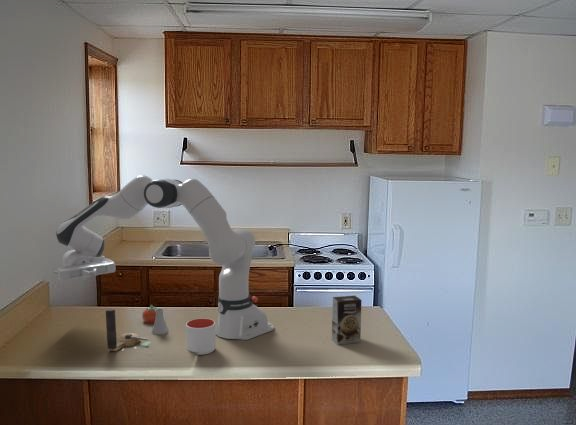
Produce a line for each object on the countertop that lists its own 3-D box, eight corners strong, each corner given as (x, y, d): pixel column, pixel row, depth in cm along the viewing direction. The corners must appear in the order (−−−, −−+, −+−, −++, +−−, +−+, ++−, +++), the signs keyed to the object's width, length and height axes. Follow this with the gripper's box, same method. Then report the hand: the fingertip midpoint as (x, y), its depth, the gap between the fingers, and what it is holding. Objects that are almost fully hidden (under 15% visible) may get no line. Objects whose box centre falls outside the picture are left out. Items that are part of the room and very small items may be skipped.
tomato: (159, 327, 207) (158, 307, 206) (140, 327, 207) (139, 307, 206) (163, 320, 214) (163, 301, 213) (145, 320, 214) (144, 301, 213)
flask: (164, 339, 195) (163, 313, 193) (146, 338, 196) (145, 312, 195) (173, 332, 202) (172, 307, 200) (155, 331, 203) (154, 305, 202)
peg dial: (126, 336, 194) (124, 298, 192) (154, 340, 190) (152, 301, 188) (99, 351, 181) (97, 310, 178) (129, 356, 177) (127, 314, 174)
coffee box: (337, 345, 189) (338, 301, 187) (331, 338, 196) (331, 296, 193) (361, 342, 192) (362, 299, 190) (354, 336, 198) (355, 294, 196)
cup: (185, 346, 188) (184, 319, 187) (213, 343, 191) (212, 316, 190) (188, 358, 179) (187, 329, 177) (218, 354, 182) (217, 326, 180)
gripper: (52, 262, 195) (61, 270, 184) (108, 255, 207) (119, 261, 196) (53, 279, 196) (62, 287, 185) (109, 270, 208) (120, 278, 197)
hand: (92, 274), depth 190 cm, fingers closed
